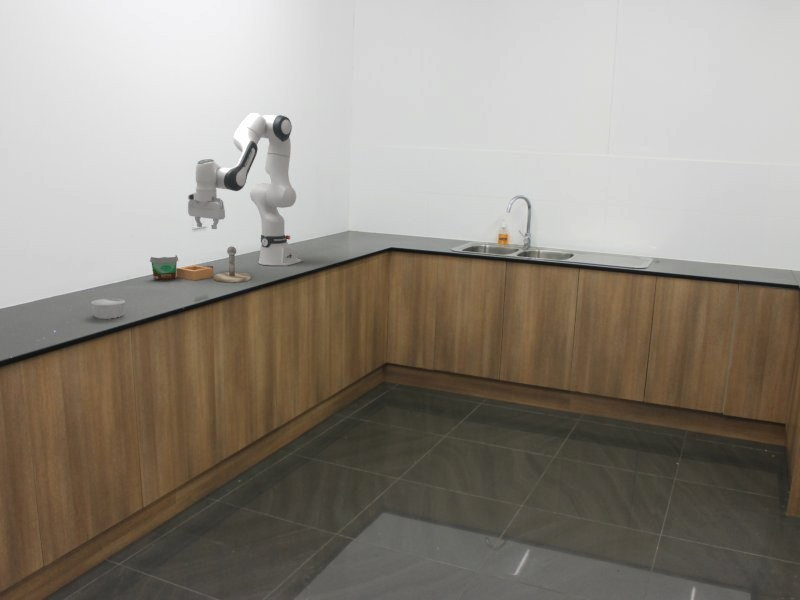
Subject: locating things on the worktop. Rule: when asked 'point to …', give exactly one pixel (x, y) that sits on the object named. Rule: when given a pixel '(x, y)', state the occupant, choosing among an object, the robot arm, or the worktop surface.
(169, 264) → the food container
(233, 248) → the round peg stand
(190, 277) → the orange square frame
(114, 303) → the ramekin
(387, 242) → the worktop surface
